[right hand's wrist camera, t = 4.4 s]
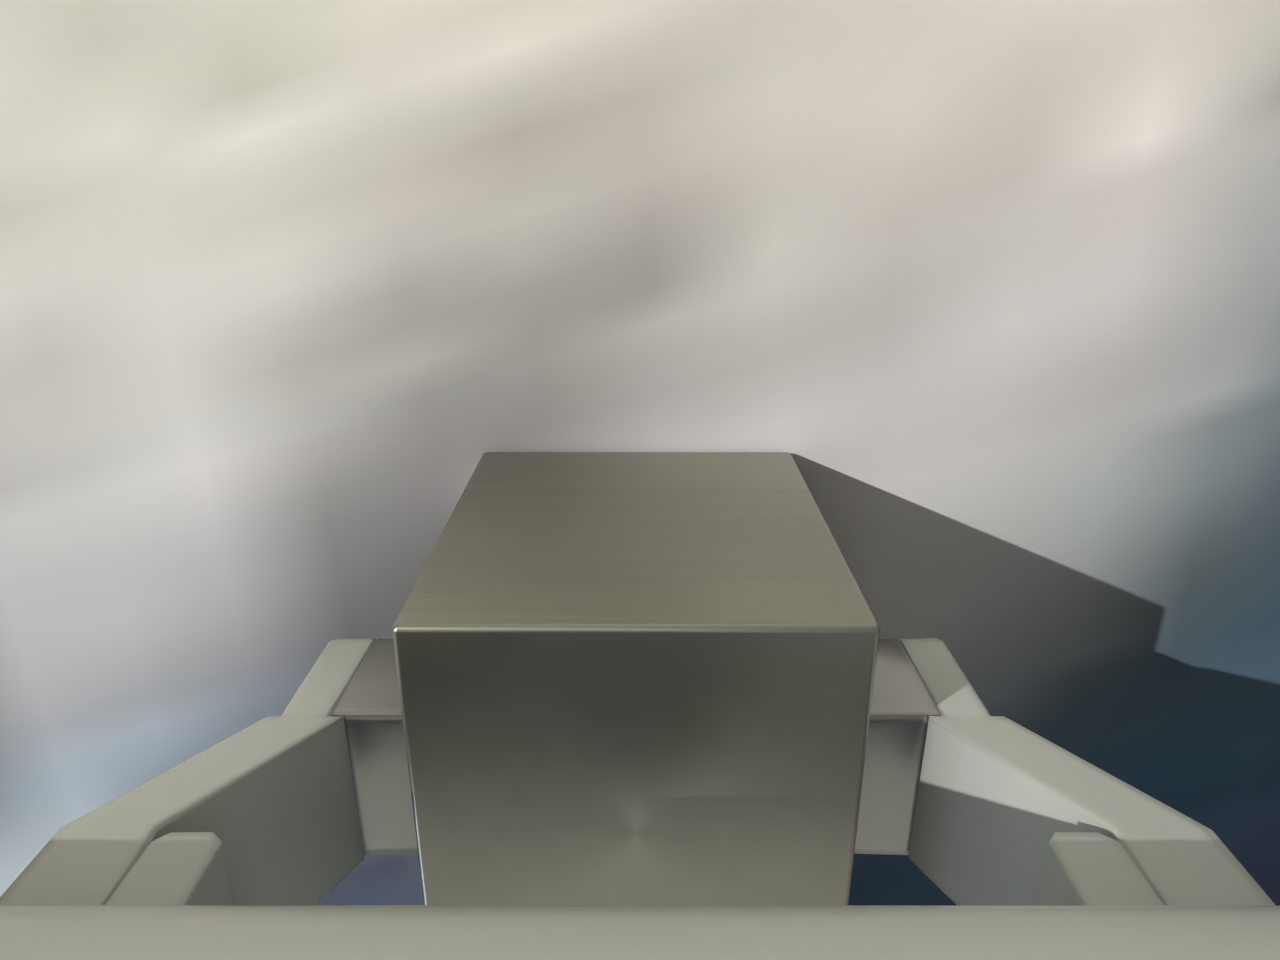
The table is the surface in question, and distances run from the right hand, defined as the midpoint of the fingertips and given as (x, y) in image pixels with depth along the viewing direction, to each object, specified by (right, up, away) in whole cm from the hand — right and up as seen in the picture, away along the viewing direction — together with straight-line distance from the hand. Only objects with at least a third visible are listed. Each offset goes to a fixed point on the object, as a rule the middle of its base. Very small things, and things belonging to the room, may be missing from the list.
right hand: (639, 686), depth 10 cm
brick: (0, +1, +2) cm, 2 cm away
